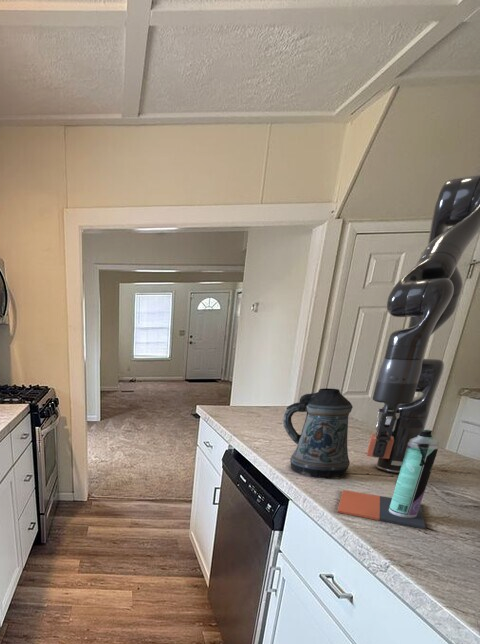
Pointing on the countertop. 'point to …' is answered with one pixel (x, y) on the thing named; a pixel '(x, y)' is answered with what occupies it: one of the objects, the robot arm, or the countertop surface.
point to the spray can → (414, 475)
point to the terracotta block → (372, 445)
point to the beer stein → (320, 434)
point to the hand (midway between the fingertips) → (377, 453)
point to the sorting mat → (375, 509)
